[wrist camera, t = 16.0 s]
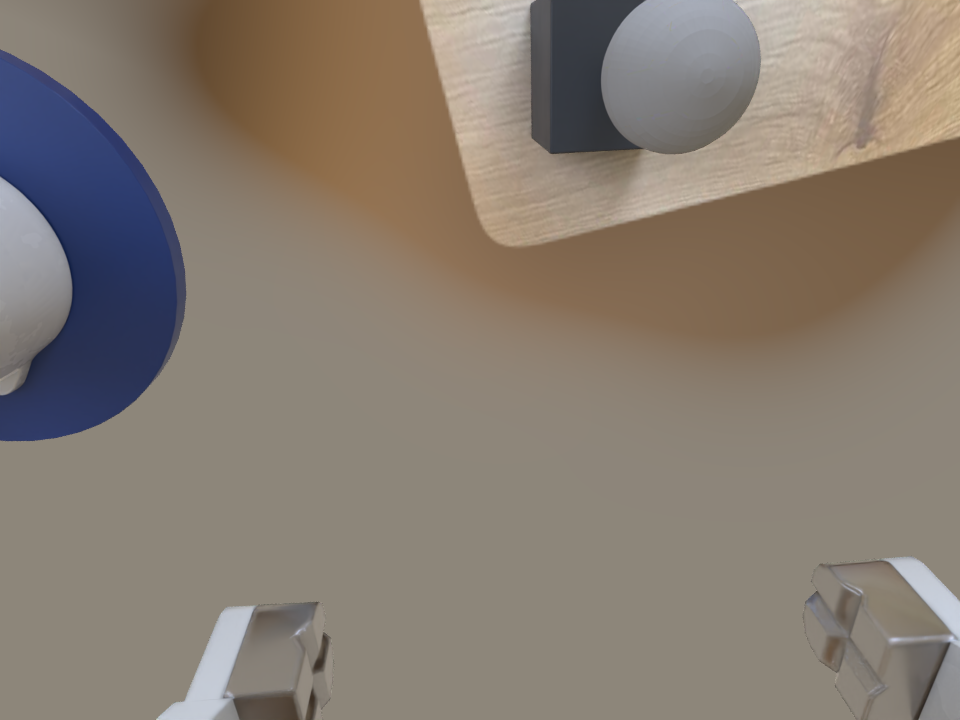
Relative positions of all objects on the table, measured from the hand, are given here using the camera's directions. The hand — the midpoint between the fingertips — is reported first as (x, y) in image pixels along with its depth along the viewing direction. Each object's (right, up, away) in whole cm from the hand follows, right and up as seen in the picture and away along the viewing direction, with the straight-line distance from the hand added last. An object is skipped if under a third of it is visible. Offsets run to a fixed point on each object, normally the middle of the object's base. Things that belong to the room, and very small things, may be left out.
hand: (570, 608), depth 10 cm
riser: (+5, +21, +25) cm, 33 cm away
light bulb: (+5, +18, +19) cm, 26 cm away
